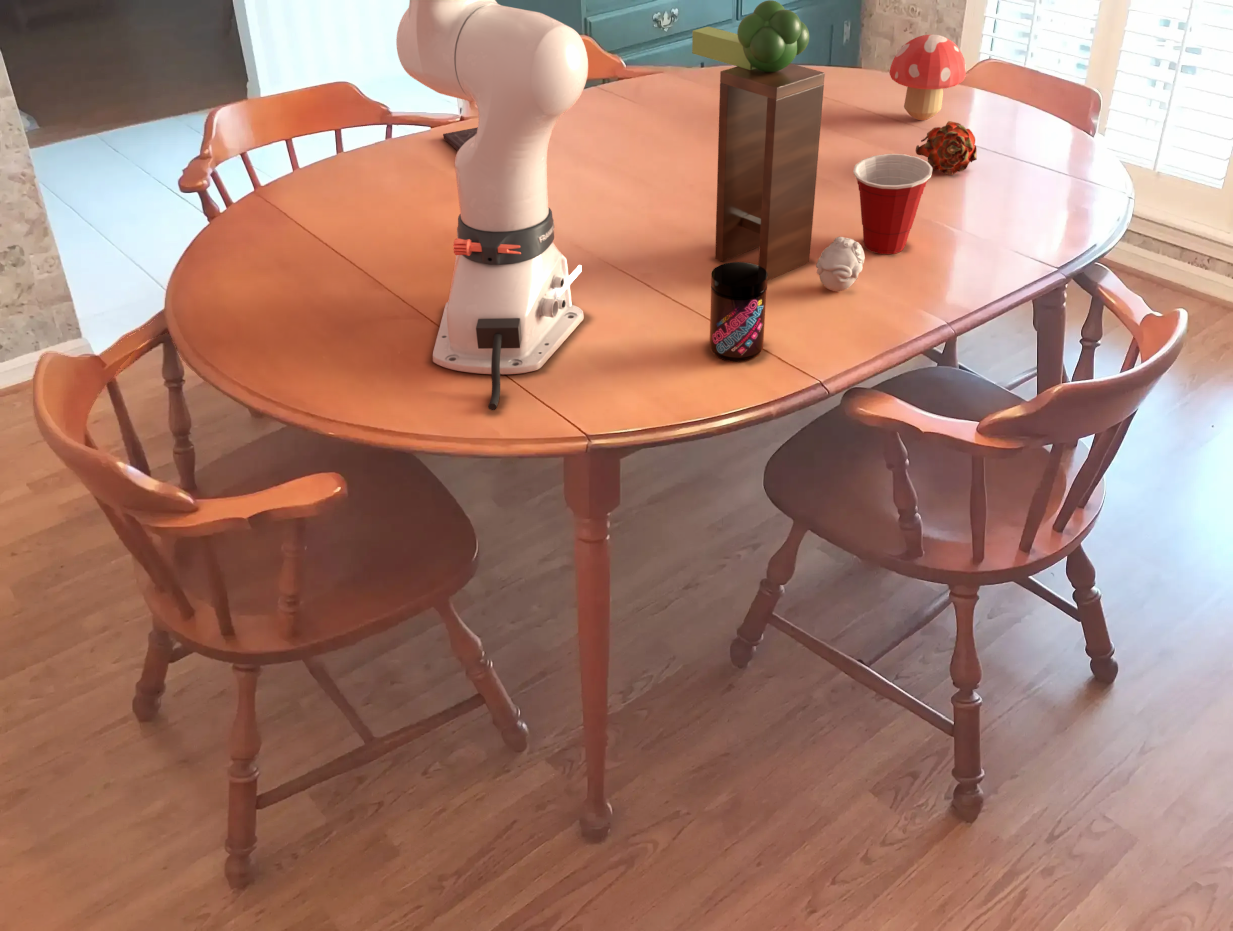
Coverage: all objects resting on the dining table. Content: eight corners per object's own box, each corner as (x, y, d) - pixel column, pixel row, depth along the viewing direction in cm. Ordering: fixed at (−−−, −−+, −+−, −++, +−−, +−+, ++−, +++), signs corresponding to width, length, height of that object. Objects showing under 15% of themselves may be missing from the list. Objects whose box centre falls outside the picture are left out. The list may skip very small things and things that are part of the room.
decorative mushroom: (945, 136, 196) (958, 49, 187) (873, 125, 201) (883, 40, 193) (967, 114, 205) (981, 31, 196) (898, 104, 210) (908, 22, 202)
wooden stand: (809, 262, 156) (825, 72, 140) (765, 281, 151) (776, 88, 135) (758, 241, 162) (768, 57, 146) (714, 259, 157) (720, 71, 142)
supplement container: (698, 354, 136) (700, 277, 129) (727, 332, 140) (729, 257, 134) (745, 369, 132) (749, 292, 126) (773, 346, 137) (778, 270, 130)
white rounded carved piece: (871, 287, 149) (877, 239, 145) (840, 304, 145) (845, 256, 141) (834, 273, 152) (839, 226, 148) (803, 290, 149) (807, 242, 144)
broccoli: (817, 70, 141) (822, 0, 136) (769, 85, 136) (773, 13, 131) (723, 45, 152) (724, -21, 147) (676, 58, 147) (676, -10, 142)
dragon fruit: (957, 194, 178) (924, 178, 189) (999, 158, 177) (964, 144, 187) (931, 154, 174) (899, 140, 185) (974, 117, 173) (939, 105, 183)
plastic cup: (829, 246, 160) (837, 166, 153) (877, 225, 165) (886, 147, 158) (889, 270, 153) (899, 187, 146) (936, 247, 158) (949, 167, 151)
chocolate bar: (488, 125, 204) (526, 154, 191) (489, 130, 204) (527, 160, 191) (443, 134, 201) (478, 164, 188) (443, 139, 201) (479, 169, 188)
